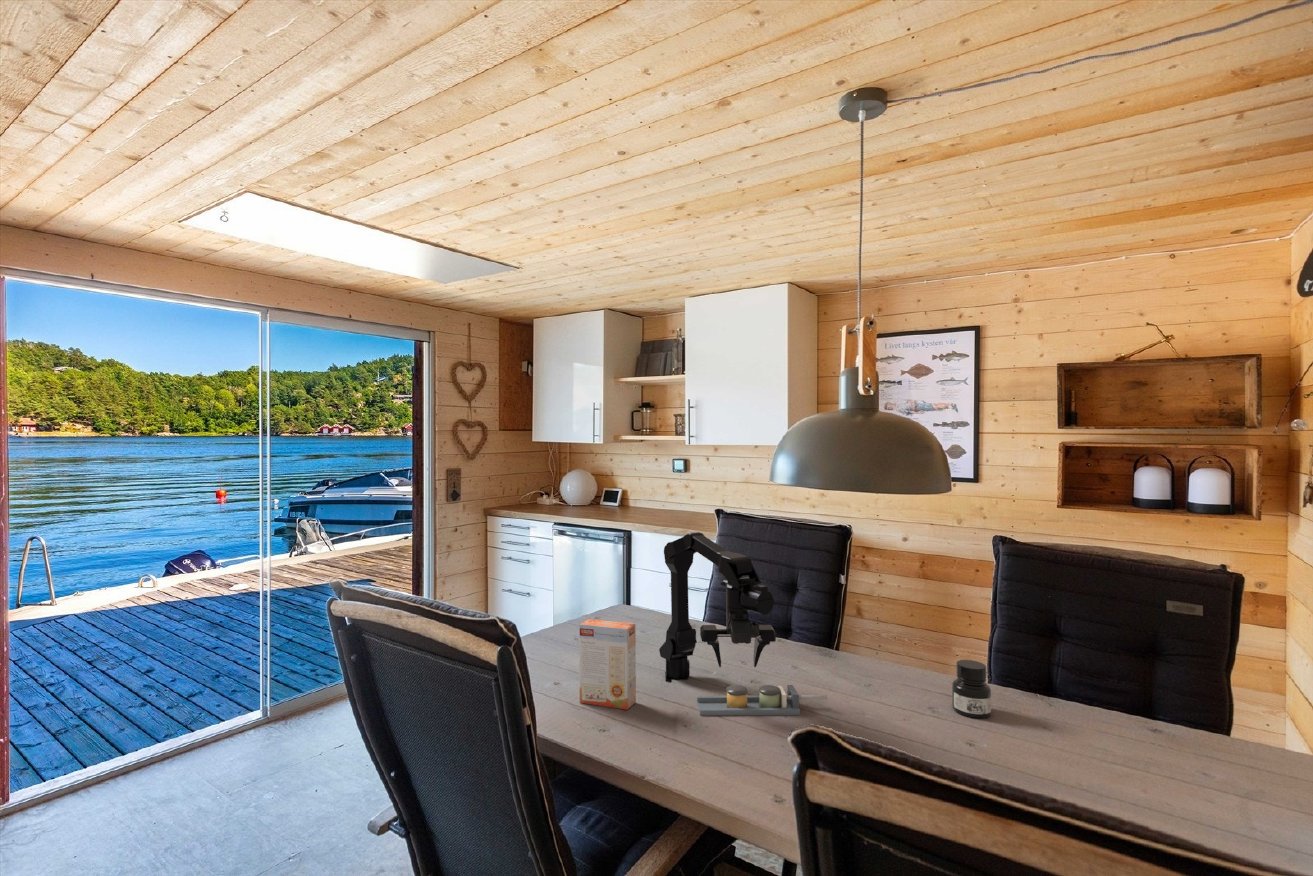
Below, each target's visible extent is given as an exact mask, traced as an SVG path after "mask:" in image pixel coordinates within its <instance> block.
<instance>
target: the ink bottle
mask: <svg viewBox="0 0 1313 876" xmlns="http://www.w3.org/2000/svg"><path fill="white" fill-rule="evenodd" d="M955 671H956V677H957V678H955V679H954V680H953V681H952V684H951V690H952V691H951V700H952V701H951V702H952V703H951V706H952V709H953V710H954V712H956V713H958V714H959V715H962V716H964V717H965V716H966V717H969V718H975V719H986V718H989V717H990V716H991V715H992V689H991V687H990V686H989V685H988V684H987V666H986V664H984V663H983V662H980V661H977V660H973V659H972V660H971V659H960V660H957V661H956V670H955Z"/></svg>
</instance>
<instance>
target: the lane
mask: <svg viewBox="0 0 1313 876" xmlns="http://www.w3.org/2000/svg"><path fill="white" fill-rule="evenodd" d="M786 690H787V691H786V692H787V693H786V695H792V700H787V708H781V707H780V708H760V707H759V694H758V695H752V694H751V695H747V708H727V695H696V702H697V707H698V712H699V716H783V715H784V716H791V715H792V716H794V715H796V716H798V715H799V716H800V715H801V709H800V700H799V695H800V694H799V693H798V691H797V690H796V688H795V686H794V685H793V684H787V688H786Z"/></svg>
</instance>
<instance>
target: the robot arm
mask: <svg viewBox="0 0 1313 876" xmlns="http://www.w3.org/2000/svg"><path fill="white" fill-rule="evenodd" d="M696 553H698V554H700V555H701V556H702V557H704V559H706V560H708V561H710V562H712V563H713V564H714V565H715V566H716V567H717V570H718V572H719V573H720V574H721V575H722V577H724V580H722V581H721V582H720V585H721V586H723V587H726V588H725V589H726V590H725V593H726V595H725V597H726V598H725V600H726V601H725V603H726V605H725V608H726V609H725V612H726V613H725V620H726V621H725V624H726V625H725V626H726V627H725V628H717V625H716V624H702V625H700V628H699V630H700V631H699V635H700V640H701V642H703V643H706V644H707V645H708V646H711V647H712V649H713V651H714V655H715V657H716V660H717V664H718V668H722V658H721V651H720V650H721V649H720V642H719V638H730V639H731V642H732V644H735V645H739V644H747V645H749V644H751V643H752V638H753V639H754V644H753V645H754V646H753V667H754V668H757V665H758V663H759V659H760V657H761V654H762V651H763V650H764V648H765V647H766V646H769V645H770V644H771V642H772V643H773V642H776V641H777V638H776V637H777V635H776V634H777V633H776V631H775V629H774V628H773V626H772V625H771V624H759V622H758V621H750V618H749V617H750V616H749V615H750V614H749V613H750V611H751V612H753V613H756V614H760V615H762V616H766V615H769V614H770V613H771V611H772V610H773V608H774V604H775V599H774V596H773V594H772V593H771V592H770V591H769V587H768V586H767V585H763V584H762V581H761V580H760V576H759V574H758V572H757V571H756V569H755V566H754V565H753V562H752V559H751V558H750V557H749V556H747V555H745V554H742V553H740V552H733V551H729V550H727V549H725V548H724V547H722V546H720V545H719V544H718V543H716V542H715V541H713V540H711V539H710V538H708V537H706V536H705V535H704V533H703V532H699V531H698V532H688V533H687V534H685V535H684V536H682V537H680V538H678V539H676V540H673V541H668V542H667V543H666V544H665V545H664V548H663V556H664V563H665V565H666V567H667V569H668V570H669V572H670V603H671V604H670V605H671V606H670V607H671V610H670V611H671V621H670V624H669V625H668V626H669V627H668V628H667V630H666V633H665V634H666V635H665V641H664V642H663V644H662V645H661V646H660V647H659V649H658V650H659V656H660V657H661V658H663V659H664V660H665V671H664V675H665V676H664V677H665V681H666V682H672V681H673V680H674V681H675V680H676V681H681V680H682V681H686V680H689V677H690V673H691V672H690V668H691V667H690V660H689V659H688V657H690V656H693V654H694V651H695V649H696V645H697V643H698V641H697V630H696V628H693V627H692V625H691V623H690V619H689V617H690V616H689V615H690V614H689V613H690V612H689V609H690V608H689V571H690V569H691V567H692V565H693V563H694V555H695V554H696Z"/></svg>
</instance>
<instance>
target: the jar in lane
mask: <svg viewBox="0 0 1313 876" xmlns="http://www.w3.org/2000/svg"><path fill="white" fill-rule="evenodd" d="M758 693H759V694H758V695H759V707H760V708H780V688H778V686H777V685H776V686H775V685H772V684H771V685H770V684H765V685H760V687H758Z"/></svg>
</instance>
